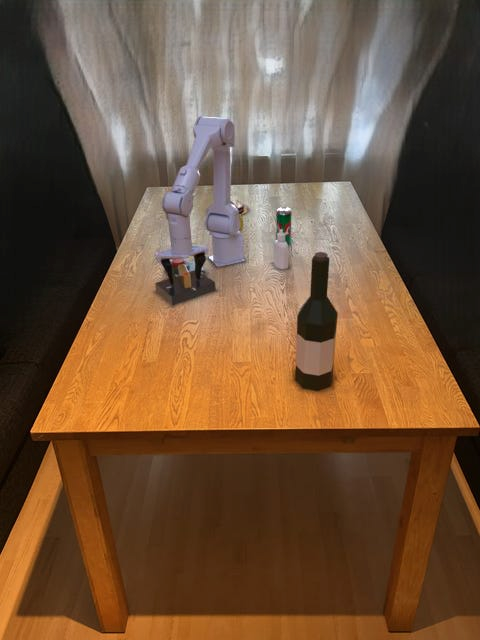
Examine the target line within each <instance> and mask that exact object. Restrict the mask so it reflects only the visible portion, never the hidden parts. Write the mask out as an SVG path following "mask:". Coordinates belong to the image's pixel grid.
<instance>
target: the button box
mask: <svg viewBox="0 0 480 640" xmlns="http://www.w3.org/2000/svg"><path fill="white" fill-rule="evenodd" d="M170 262H171V265H172V260H170ZM184 265H185V267H186V269H187V270H188V272H191V271H194V270H195V261H194V260H190V261H187V260H184ZM201 273H203V274H204V275H206V271H205V269H204V268H203V267H202V270H201ZM175 274H176V275H177V276H179V272H178V268H175V267H173V266H172V276H173V277H175Z"/></svg>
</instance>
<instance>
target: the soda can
mask: <svg viewBox="0 0 480 640" xmlns="http://www.w3.org/2000/svg"><path fill="white" fill-rule="evenodd" d="M292 213H293V212H292V211H291V207H286V206H281V207H278V208H277V210H276V212H275V241H276V240H277V234H278V233H280V230H281V229H282V230H283V233H285V241H286V242H287V244H288V246H289V245H290V244H291V243H292V219H293V216H292V215H293V214H292Z"/></svg>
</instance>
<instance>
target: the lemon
mask: <svg viewBox="0 0 480 640" xmlns="http://www.w3.org/2000/svg"><path fill="white" fill-rule="evenodd" d="M242 216H243V215H240V214H239V219H240V229H239V232H240V233H241V231H243V228H244V218H243V217H242Z"/></svg>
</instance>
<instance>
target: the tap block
mask: <svg viewBox="0 0 480 640" xmlns="http://www.w3.org/2000/svg"><path fill="white" fill-rule="evenodd" d="M189 274H190V279H191V288H185V287H184V286H183V284H182V282H181V280H180V278H179V276H177V275H176V274H175V277H173V283H174V284H171V283H170V281H169V278H167V279H163V280H160V281H156V282H155V283H154V284H155V285H154V286H155V291H156V292H155V293H157V295H159V296H160V297H162V298H163V299H164V300H165V301H166V302H167V303H169V304H170V305H171V306H172V307H173V306H176V305H180V304H182V303H184V302H188V301H191V300H193V299H197V298H199V297H203V296H205V295H207V294H210V293H213V292H216V281H214V280H213V279H211V278H210V277H208V276H207V275H206V274H203V273H201V274H200V279H199V280H197V278H196V274H195V270H194V271H191V272H189Z"/></svg>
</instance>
